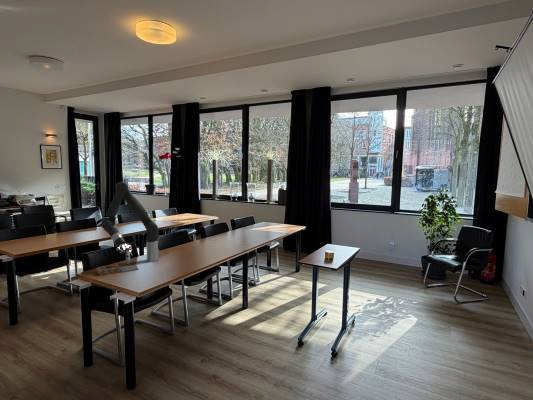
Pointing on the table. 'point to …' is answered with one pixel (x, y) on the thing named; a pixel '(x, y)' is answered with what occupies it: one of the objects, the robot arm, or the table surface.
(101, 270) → the eye block
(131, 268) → the mat
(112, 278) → the table surface
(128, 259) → the wheel peg
